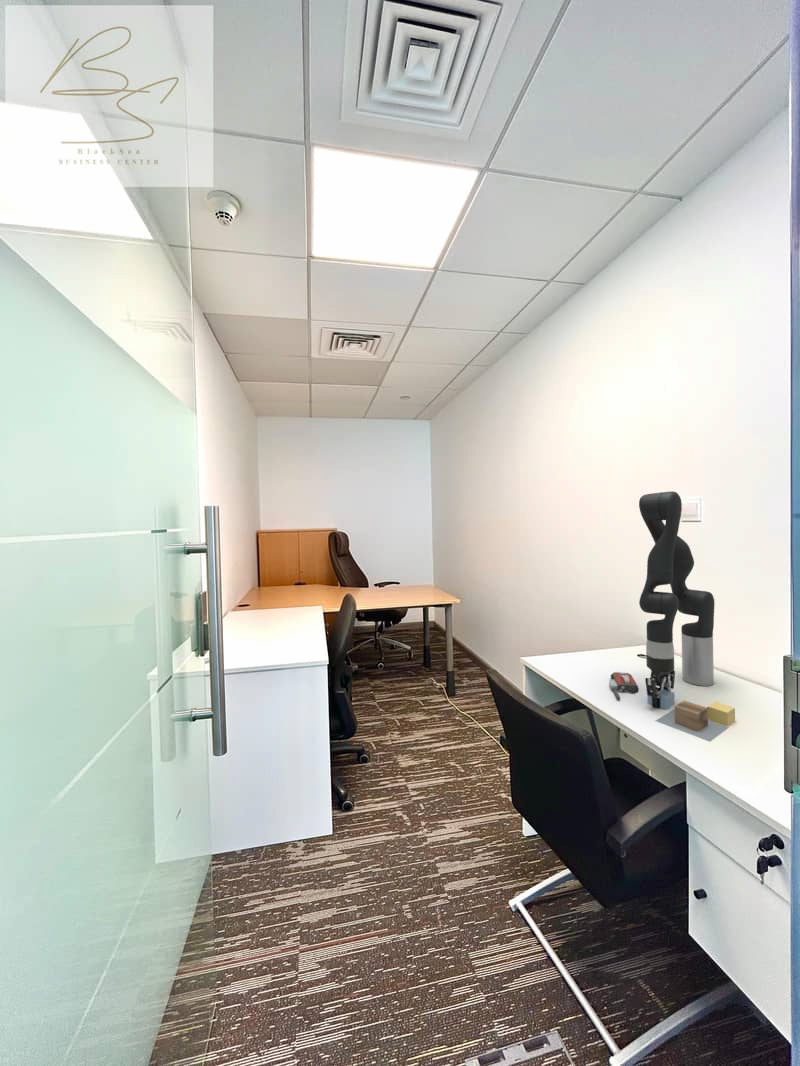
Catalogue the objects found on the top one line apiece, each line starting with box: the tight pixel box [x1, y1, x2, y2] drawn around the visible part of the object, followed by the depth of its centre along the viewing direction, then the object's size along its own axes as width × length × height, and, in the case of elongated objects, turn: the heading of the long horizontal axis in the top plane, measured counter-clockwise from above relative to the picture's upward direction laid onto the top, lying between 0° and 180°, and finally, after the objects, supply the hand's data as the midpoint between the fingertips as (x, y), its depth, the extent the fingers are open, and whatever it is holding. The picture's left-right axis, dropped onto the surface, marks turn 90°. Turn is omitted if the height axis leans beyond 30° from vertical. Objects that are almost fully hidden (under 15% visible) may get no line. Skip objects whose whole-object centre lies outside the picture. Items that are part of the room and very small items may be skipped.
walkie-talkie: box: [608, 671, 639, 700], centre depth 146 cm, size 9×4×20 cm
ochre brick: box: [706, 701, 736, 727], centre depth 120 cm, size 5×5×5 cm
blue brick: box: [646, 689, 676, 711], centre depth 132 cm, size 6×6×5 cm
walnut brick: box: [673, 700, 708, 731], centre depth 119 cm, size 6×6×5 cm
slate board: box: [655, 709, 730, 742], centre depth 119 cm, size 12×14×1 cm
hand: (661, 705), depth 132 cm, fingers closed on blue brick, 5 cm apart
